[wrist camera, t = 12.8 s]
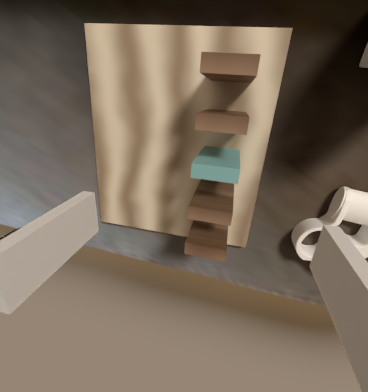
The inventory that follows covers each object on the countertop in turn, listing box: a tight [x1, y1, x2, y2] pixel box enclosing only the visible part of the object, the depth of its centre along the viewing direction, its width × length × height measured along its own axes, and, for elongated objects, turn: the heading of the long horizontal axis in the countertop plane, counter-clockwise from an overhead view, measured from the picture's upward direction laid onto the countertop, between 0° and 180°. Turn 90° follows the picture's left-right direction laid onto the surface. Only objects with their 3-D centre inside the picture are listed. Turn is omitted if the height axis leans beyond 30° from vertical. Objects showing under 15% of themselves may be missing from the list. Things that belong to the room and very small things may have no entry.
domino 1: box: [200, 52, 261, 83], centre depth 24 cm, size 2×5×10 cm, turn 86°
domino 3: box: [190, 146, 240, 184], centre depth 28 cm, size 2×5×10 cm, turn 86°
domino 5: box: [184, 220, 228, 262], centre depth 32 cm, size 2×5×10 cm, turn 86°
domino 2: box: [195, 109, 250, 135], centre depth 26 cm, size 2×5×10 cm, turn 86°
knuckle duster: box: [291, 187, 368, 261], centre depth 33 cm, size 3×18×15 cm
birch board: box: [84, 23, 292, 248], centre depth 35 cm, size 26×30×1 cm
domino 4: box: [187, 179, 234, 226], centre depth 30 cm, size 2×5×10 cm, turn 86°
